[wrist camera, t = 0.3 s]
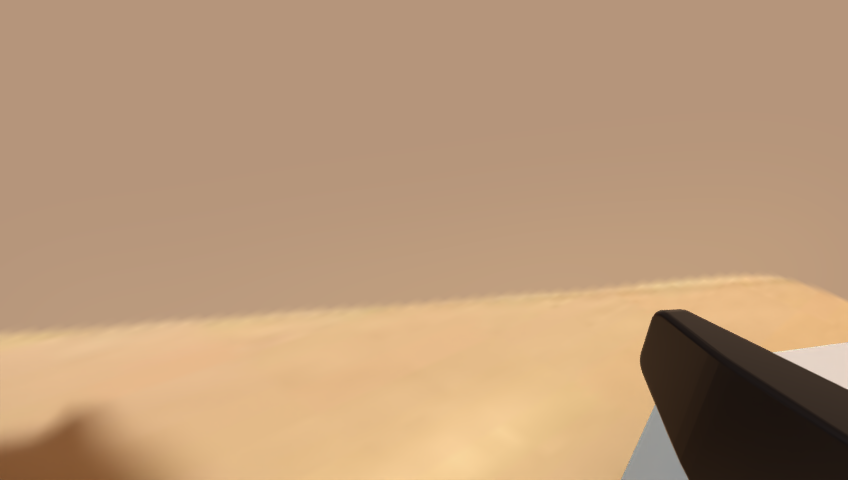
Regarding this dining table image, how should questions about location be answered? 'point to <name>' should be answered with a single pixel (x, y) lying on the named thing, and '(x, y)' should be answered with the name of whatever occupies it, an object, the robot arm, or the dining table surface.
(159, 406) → the dining table surface
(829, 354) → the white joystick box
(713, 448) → the robot arm
